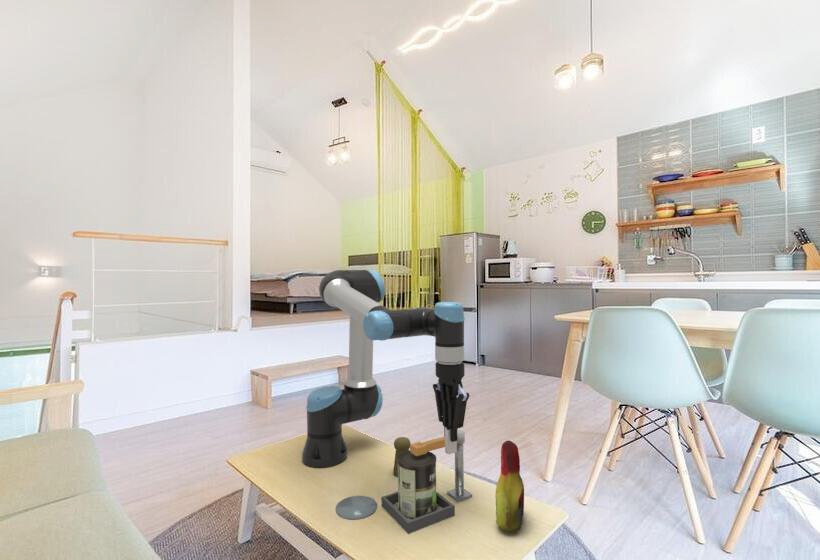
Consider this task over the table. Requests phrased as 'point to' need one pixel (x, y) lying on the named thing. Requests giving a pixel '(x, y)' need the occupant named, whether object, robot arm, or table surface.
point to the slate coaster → (356, 507)
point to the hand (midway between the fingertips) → (450, 452)
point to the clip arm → (434, 444)
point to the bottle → (509, 489)
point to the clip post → (459, 477)
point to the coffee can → (416, 484)
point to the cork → (400, 451)
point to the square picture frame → (421, 521)
